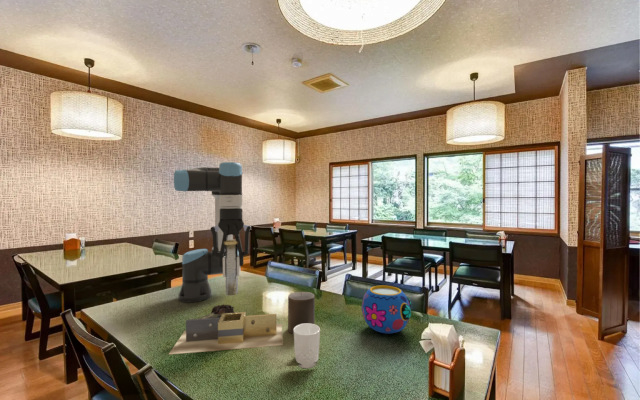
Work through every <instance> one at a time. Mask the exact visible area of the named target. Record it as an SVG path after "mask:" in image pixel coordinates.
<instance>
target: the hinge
mask: <svg viewBox="0 0 640 400" xmlns="http://www.w3.org/2000/svg"><path fill="white" fill-rule="evenodd" d="M276 324H277V313H270V314H269V313H267V314H253V315H246V311H241V312H239V311H238V312H235V313H222V315H221V317H220V318H205V319H198V318H191V319H186V320H185V331H186V342H189V341H202V340H215V339H218V344H227V343H239V342H243V341H244V337H254V336H267V335H277V328H276Z"/></svg>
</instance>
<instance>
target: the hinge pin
mask: <svg viewBox="0 0 640 400" xmlns="http://www.w3.org/2000/svg"><path fill="white" fill-rule="evenodd" d="M223 245H225V258H226V277H225V295H226V296H235V295H237V294H239V276H237V257H238V248H237V245H238V241H236V239H235V238H233V239H232V240H227V241H223Z"/></svg>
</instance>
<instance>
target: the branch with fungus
mask: <svg viewBox="0 0 640 400" xmlns="http://www.w3.org/2000/svg"><path fill="white" fill-rule="evenodd" d="M234 309H235V308H234V306H232V305H231V304H221V305H220V304H218V305H214V307H212V309H211V312H210V313H208V314H206V315H203V316H201V317H199V318H197V319H205V318H220V317H221V315H222V313H236V312H235V311H234Z"/></svg>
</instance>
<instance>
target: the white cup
mask: <svg viewBox="0 0 640 400" xmlns="http://www.w3.org/2000/svg"><path fill="white" fill-rule="evenodd" d="M320 333H321V328H320V326H319V325H317V324H311V323H304V324H299V325H297V326H295V327H294V335H293V346H294V355H295V361H296V363H298V364H297V367H299V368H302V369H311V368H314V367H316V366H317V365H318V360H319V352H320Z"/></svg>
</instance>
